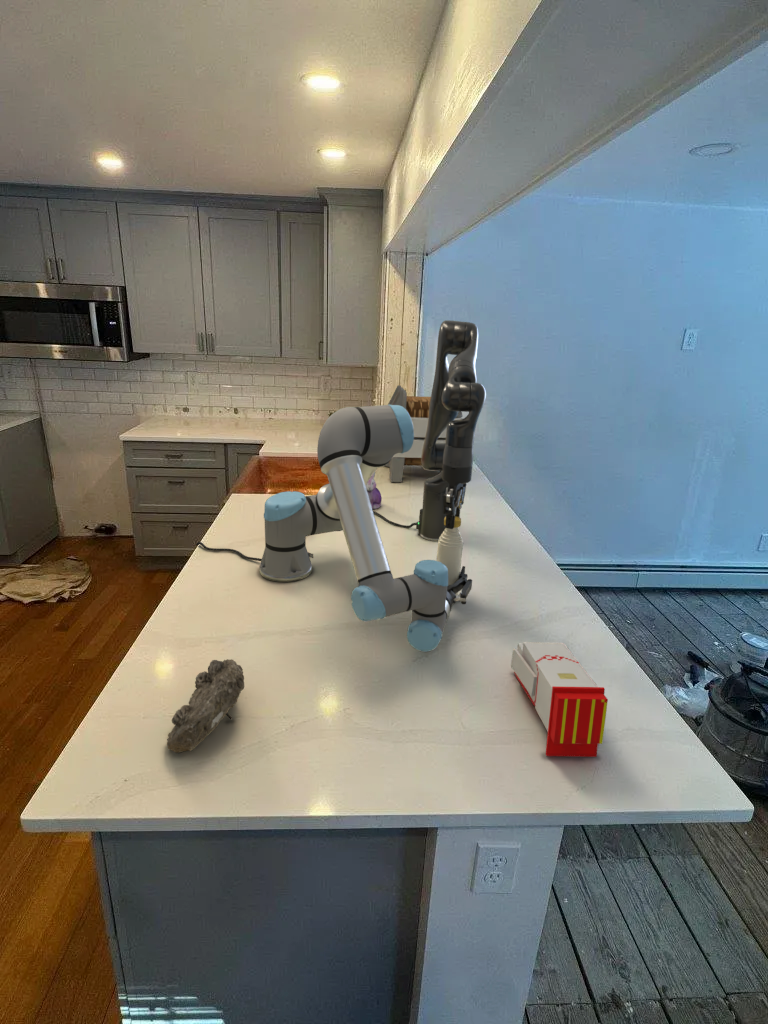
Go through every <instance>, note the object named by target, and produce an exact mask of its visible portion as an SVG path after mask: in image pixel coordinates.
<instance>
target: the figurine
mask: <svg viewBox="0 0 768 1024" xmlns="http://www.w3.org/2000/svg"><path fill="white" fill-rule="evenodd" d="M375 475H376V471H375V472H374V474H373V475H372V477H371V478H370V479H369V481H368V482H367V484H366V485H365V486H366V489H367V493H368V496H369V500H370V503H371V506H372V510H377V509H378V508H380V507H381V505H382V499H383V498H382V494H381V491H380V489H379V488H377V482H376V480H375Z"/></svg>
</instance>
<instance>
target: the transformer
mask: <svg viewBox="0 0 768 1024" xmlns="http://www.w3.org/2000/svg"><path fill="white" fill-rule="evenodd" d="M407 394H408V393H407V390H406V389H404V388H403V387H402V385H399V384H398V385H397V386H396V388H395V390H394V392H393V394H392V395H391V398H390V400H389V402H388V404H390V405H399V406H402V407H404V408H405V409H406V410H407V412H408V413H409V415H410V417H411V420H412V423H413V429H414V440H413V445H412V447H411V449H410V450H409V451H408V452H404V453H402V454H401V453H397V454H395V455H394V456H393V457H392V459H391V460H390V461H389V463H388V464H386V465H385V466H384V467H388V468H389V475H388V476H389V477H388V478H389V480H390V482H391V483H402V482H403V475H404V469H405V466H406V467H407V466H411V467H412V466H413V467H415V466H416V467H417V466H418V467H422V464H421V455H422V449H423V444H424V440H425V435H426V431H427V425H428V417H429V407H430V399H431V396H415V395H414V396H413V395H412V396H411V395H407ZM388 404H387V405H388ZM460 419H463V412H462V411H459V412H458V415H457V416H456V418H455V419H454V420H460ZM446 431H447V428H446V429H445V430H444V431H443V432H442V433H441V434H440V436H439V437H438V439H437V441H436V443H446ZM439 473H441V471H439Z"/></svg>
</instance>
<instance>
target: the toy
mask: <svg viewBox="0 0 768 1024" xmlns="http://www.w3.org/2000/svg"><path fill="white" fill-rule="evenodd" d="M510 667H511V669H512V670H513V674H514V676H515V677H516V679H517V680H518V682H519V684H520V686H521V687H522V689H523V691H524V692H525V694H526V695H527V697H528V698H529V701H530V702H531V703H532V705H533V706H534V708H535V710H536V713H537V715H538V716H539V718H540V720H541V722H542V724H543V725H544V727H545V729H546V731H547V735H546V736H547V737H546V744H545V745H546V746H545V756H546V757H582V758H583V757H584V758H585V757H588V758H589V757H590V758H591V757H593V758H595V757H596V758H597V754H598V746H599V745H603V741H604V734H605V725H606V718H607V717H606V715H607V709H608V700H609V699H608V698H607V696H606V695H605V691H606V688H605V687H604V686H598V685H597V684H596V682H595V681H594V680H593V679H592V678H591V676H590V675H589V673H588V672H587V671H586V670H585V668H584V667H583V666H582V665H581V663H580V662H579V661H578V659H577V658H576V657H575V656H574V654H573V653H572V651H571V650H570V649H569V648H568V647H567V645H566V644H565V642H537V641H536V642H533V641H532V642H531V641H523V642H522V643H521V642H520V643H517V648H513V649H512V655H511V663H510Z"/></svg>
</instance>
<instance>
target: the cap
mask: <svg viewBox="0 0 768 1024" xmlns="http://www.w3.org/2000/svg"><path fill="white" fill-rule="evenodd" d="M445 524H446V517H445V518H444V525H445ZM461 526H462V518H461V517H457V516H455V523H454V528H457V527H458V528H460V527H461Z"/></svg>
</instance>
